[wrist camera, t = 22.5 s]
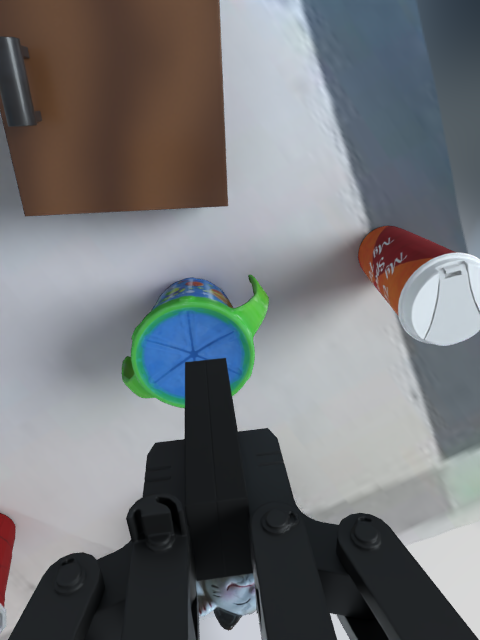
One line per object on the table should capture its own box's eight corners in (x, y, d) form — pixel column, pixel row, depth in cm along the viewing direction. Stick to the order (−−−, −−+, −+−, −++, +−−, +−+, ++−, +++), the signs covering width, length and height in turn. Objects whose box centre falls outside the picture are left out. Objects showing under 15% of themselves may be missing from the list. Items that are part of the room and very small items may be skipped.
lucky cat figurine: (282, 463, 58) (331, 581, 50) (261, 498, 67) (300, 603, 58) (166, 495, 52) (200, 633, 44) (159, 528, 61) (187, 649, 53)
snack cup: (156, 379, 51) (148, 440, 42) (100, 304, 46) (78, 354, 37) (281, 315, 49) (302, 364, 40) (235, 230, 44) (246, 263, 35)
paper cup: (342, 226, 45) (401, 273, 33) (418, 205, 45) (505, 246, 33) (352, 296, 49) (409, 363, 36) (422, 277, 49) (503, 338, 36)
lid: (28, 214, 37) (4, 230, 32) (-40, -76, 29) (-83, -110, 24) (227, 204, 38) (232, 218, 33) (215, -78, 30) (219, -110, 26)
